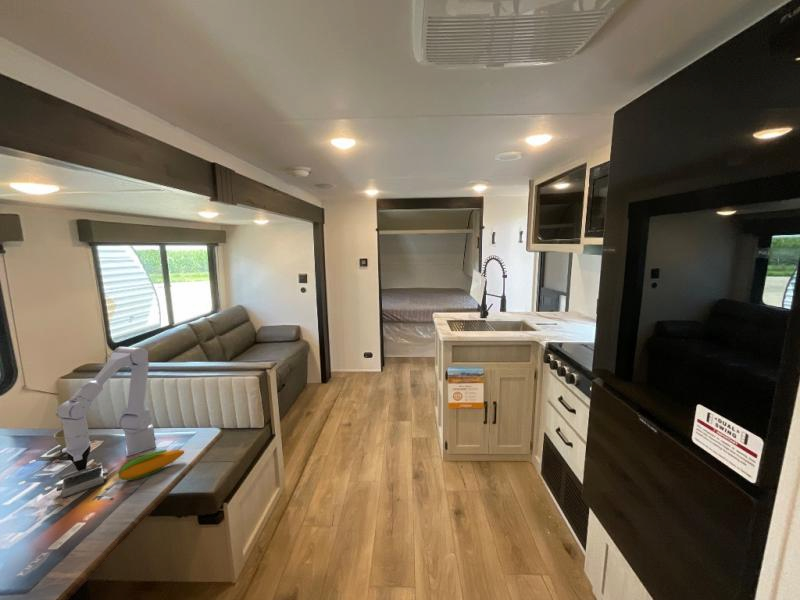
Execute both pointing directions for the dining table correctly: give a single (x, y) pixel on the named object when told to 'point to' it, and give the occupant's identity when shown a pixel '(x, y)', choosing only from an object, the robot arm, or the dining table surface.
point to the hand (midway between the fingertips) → (82, 469)
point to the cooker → (82, 482)
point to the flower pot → (61, 438)
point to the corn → (148, 464)
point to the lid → (93, 466)
